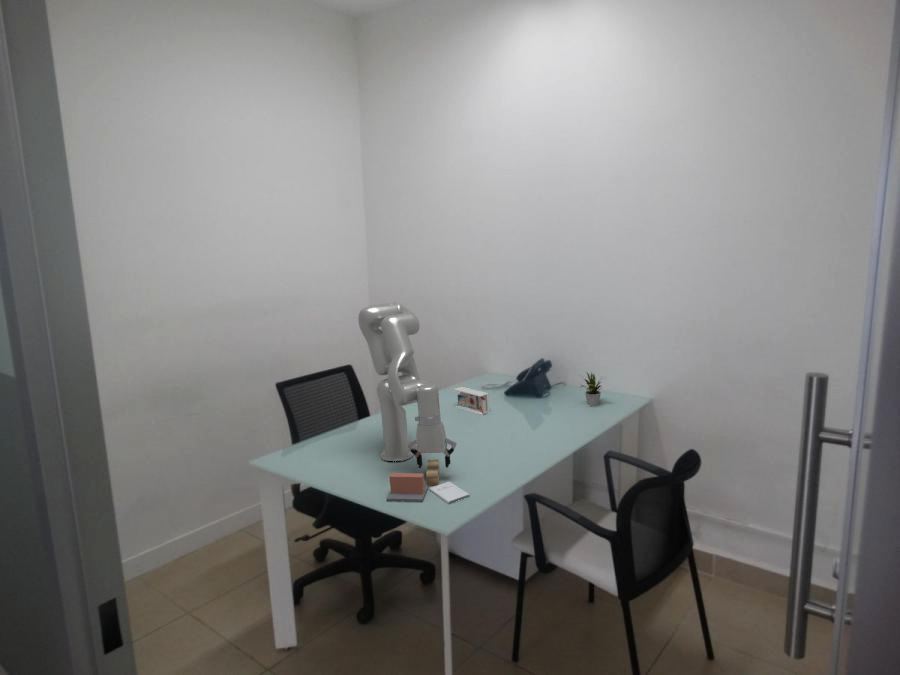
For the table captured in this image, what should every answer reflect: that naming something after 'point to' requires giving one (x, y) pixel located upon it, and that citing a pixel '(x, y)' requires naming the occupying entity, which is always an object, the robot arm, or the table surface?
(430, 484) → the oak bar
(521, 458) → the table surface
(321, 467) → the table surface
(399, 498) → the fulcrum board
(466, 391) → the cigarette display
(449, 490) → the external hard drive
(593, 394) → the house plant
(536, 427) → the table surface
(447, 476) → the table surface
